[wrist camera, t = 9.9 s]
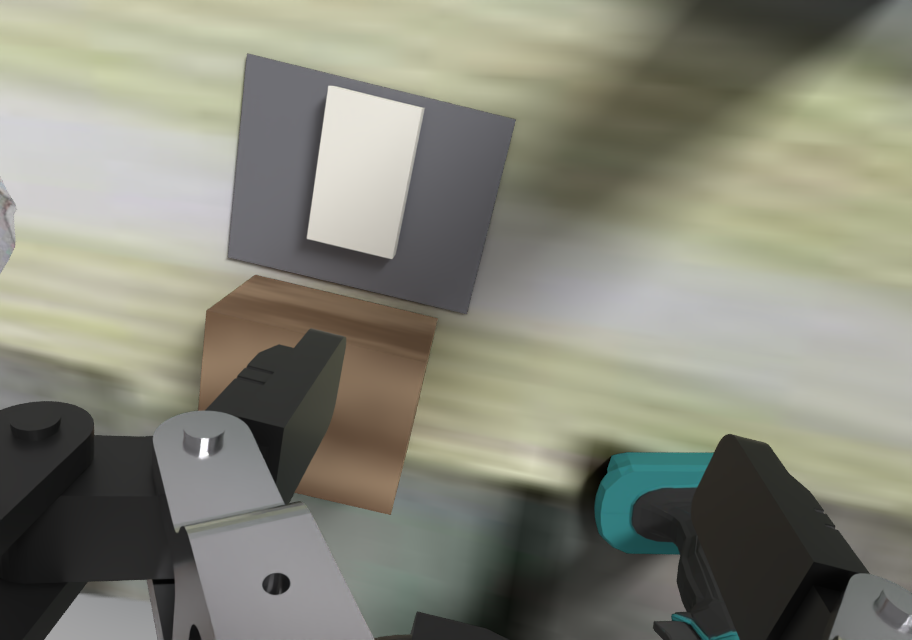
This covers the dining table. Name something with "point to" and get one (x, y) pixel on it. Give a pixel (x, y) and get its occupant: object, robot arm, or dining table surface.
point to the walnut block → (360, 388)
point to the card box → (363, 171)
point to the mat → (428, 201)
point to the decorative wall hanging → (6, 225)
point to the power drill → (664, 533)
